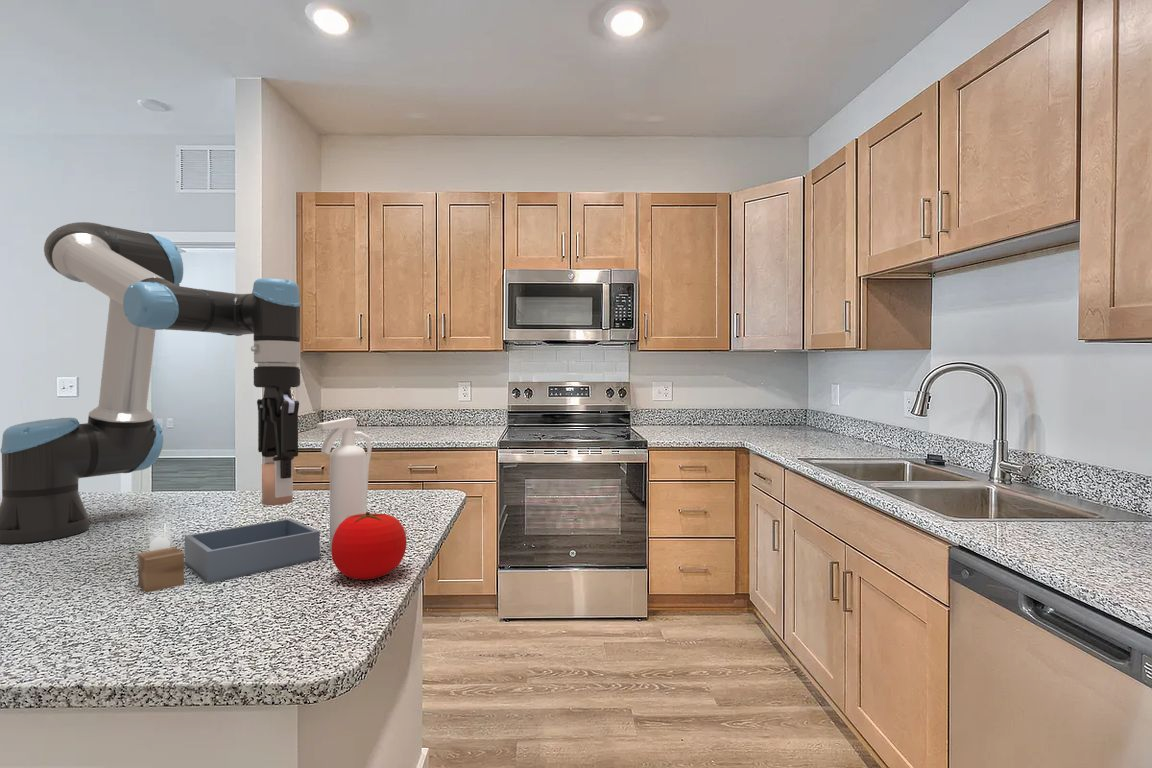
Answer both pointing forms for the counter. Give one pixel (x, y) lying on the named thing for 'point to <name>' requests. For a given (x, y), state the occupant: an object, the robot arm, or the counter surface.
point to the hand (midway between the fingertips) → (277, 493)
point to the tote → (250, 549)
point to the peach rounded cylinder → (272, 486)
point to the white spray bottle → (346, 471)
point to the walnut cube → (160, 569)
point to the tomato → (368, 545)
